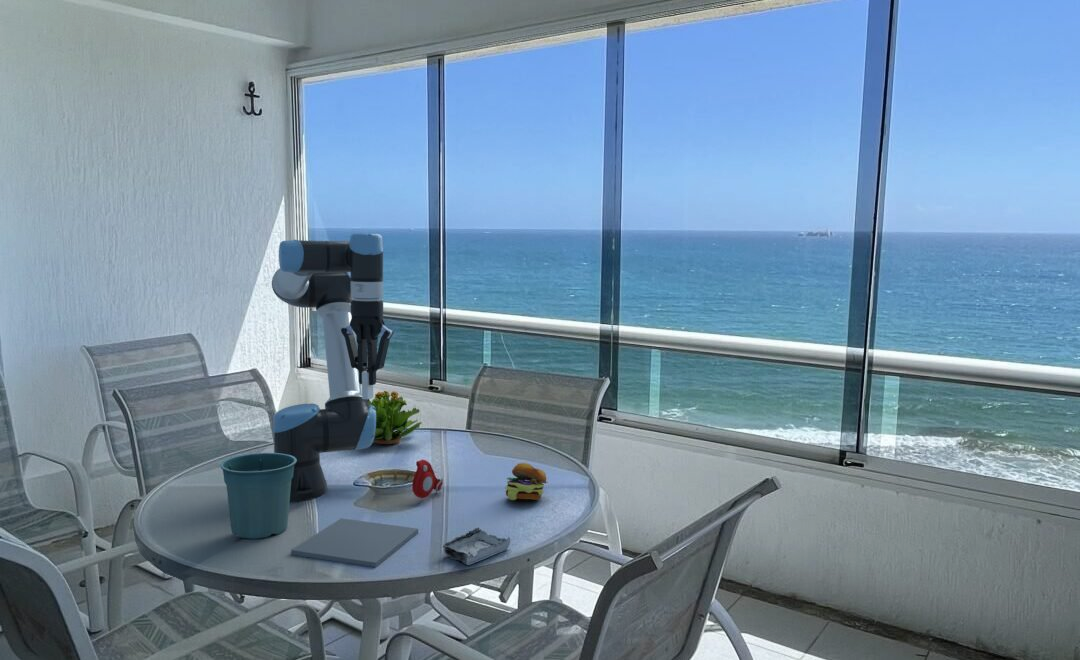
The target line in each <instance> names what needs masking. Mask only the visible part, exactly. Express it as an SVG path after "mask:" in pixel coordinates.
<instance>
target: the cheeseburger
mask: <svg viewBox="0 0 1080 660" xmlns="http://www.w3.org/2000/svg"><path fill="white" fill-rule="evenodd" d="M511 474H512V475H513V476H514V477H507V478H506V480H508V481H507V482H506V484H507V485H506V486H505V488H504V489H506V490H505V495H506V497H507V498H508V499H509V500H511V501H516V500H535V501H536V500H537V501H538V500H541V497H542V495H543V493H544V488H545V485H544V484H548V481H547V475H546V472H545V471H544V470H543V469H541V468H535V467H534V466H532V465H531V464H530V463H528V462H520V463H517V464H516V465H515V466H514V467H513V468H512V471H511Z"/></svg>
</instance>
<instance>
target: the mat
mask: <svg viewBox="0 0 1080 660" xmlns="http://www.w3.org/2000/svg"><path fill="white" fill-rule="evenodd" d="M417 534H419V528H418V527H417V528H416V527H408V526H400V525H394V524H385V523H381V522H380V523H379V522H371V521H364V520H357V519H348V518H342V517H341V518H339V519H337V520H336V521H335V522H333V523H331V524H330V525H328V526H327V527H325V528H324V529H322V530H321V531H319V532H317V533H316V534H314V535H313V536H311V537H310V538H308V539H306V540H305V541H303V542H301V543H300V544H299V545H296V546H295V547H293V548H292V549H290V554H291V555H292V556H299V557H307V558H311V559H318V560H326V561H333V562H338V563H345V564H351V565H358V566H363V567H365V566H366V567H373V568H377V567H378V566H379V565H381V564H382V563H383V562H384V561H385V560H387V559H388V558H389V557H391V556H392V555H393V554H394V553H396V551H398V550H400V548H402V546H404V545H406V543H408V542H409V541H410V540H411V539H413V538H414V537H415V536H417ZM291 555H290V556H291Z"/></svg>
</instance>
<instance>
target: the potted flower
mask: <svg viewBox="0 0 1080 660" xmlns="http://www.w3.org/2000/svg"><path fill="white" fill-rule="evenodd" d="M374 395H375V396H374V397H373V398H372V401H371V400H370V399H368V405H372V406H374V407H375V411H376V430H375V436H374V440H373V443H375V444H377V445H393V444H397V443H400V442H401V441H402V438H403V437H406V436H408V435H409V434H411V433H413V432H414V431H415V430H417V429H418V428H419V426H421V425H422V422H421V421H420V422H418V420H417V419H416V420H413V421H412V420H411V419H410V420H409V418H411V417H412V416H414V415H416V414H419V413H420V411H421V410H420V409H419V408H416V407H412V409H411V410H410V409H408V411H406V410H404V409H403V410H402V408H403V407H404V406H407V405H408V404H407V402H406V400H405V399H404V397H403V396H399V393H398V392H397V391H394V390H393V391H392V392H390V391H387V390H383V391H377V392H376V393H374Z"/></svg>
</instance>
